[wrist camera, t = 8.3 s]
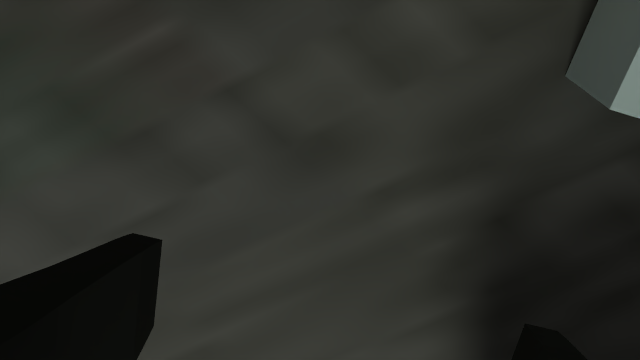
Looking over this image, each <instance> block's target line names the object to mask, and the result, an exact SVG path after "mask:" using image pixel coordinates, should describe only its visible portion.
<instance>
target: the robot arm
mask: <svg viewBox="0 0 640 360" xmlns="http://www.w3.org/2000/svg"><path fill="white" fill-rule="evenodd" d="M161 247H162V240H160V239H156V238H152V237H147V236H143V235H139V234H134V233H132V234H129V235H125V236H123V237H120V238H117V239H115V240H112V241H110V242H108V243H105V244H103V245H100V246H98V247H96V248H93V249H91V250H89V251H86V252H84V253H81V254H79V255H77V256H74V257H72V258H69V259H67V260H64V261H62V262H60V263H57V264H55V265H52V266H50V267H47V268H44V269H42V270H39V271H36V272H33V273H31V274H28V275H25V276H22V277H20V278H17V279H14V280H11V281H9V282H6V283H3V284H0V360H137V358H138V356H139V354H140V352H141V350H142V349H143V347H144V344H145V342H146V340H147V338H148V336H149V334H150V332H151V330H152V328H153V326H154V317H155V307H156V297H157V287H158V277H159V267H160V257H161ZM512 360H587V359H586V358H585V357H584V356H583V355H582V354H581V353H580V352H579V351H578V350H577V349H576V348H575V347H574V346H573V345H572V344H571V343H570V342H569V341H568V340H567V339H566V338H565V337H563V336H562V335H561V334H560V333H559V332H558V331H555V330H550V329H546V328H542V327H537V326H533V325H529V324H525V325H524V328H523V331H522V334H521V336H520V339H519V342H518V344H517V347H516V350H515V352H514V355H513V358H512Z"/></svg>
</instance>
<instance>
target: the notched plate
mask: <svg viewBox="0 0 640 360" xmlns="http://www.w3.org/2000/svg"><path fill="white" fill-rule="evenodd" d="M565 76H566V77H567V78H568V79H570V80H571V81H572V82H574V83H575V84H576V85H578V86H579V87H580V88H582V89H583V90H584V91H586V92H587V93H588V94H590V95H591V96H592V97H594V98H595V99H596V100H598V101H599V102H600V103H602V104H603V105H604V106H606V107H607V108H608V109H610V110H613V111H617V112H620V113H623V114H626V115H630V116H633V117H636V118H640V0H598V2H597V4H596V7H595V9H594V11H593V14H592V16H591V18H590V20H589V23H588V25H587V27H586V30H585V32H584V34H583V36H582V39H581V41H580V43H579V45H578V48H577V50H576V52H575V55H574V57H573V59H572V61H571V64H570V66H569V68H568V71H567V73H566V75H565Z"/></svg>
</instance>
